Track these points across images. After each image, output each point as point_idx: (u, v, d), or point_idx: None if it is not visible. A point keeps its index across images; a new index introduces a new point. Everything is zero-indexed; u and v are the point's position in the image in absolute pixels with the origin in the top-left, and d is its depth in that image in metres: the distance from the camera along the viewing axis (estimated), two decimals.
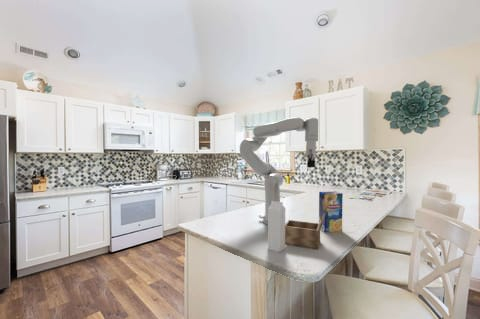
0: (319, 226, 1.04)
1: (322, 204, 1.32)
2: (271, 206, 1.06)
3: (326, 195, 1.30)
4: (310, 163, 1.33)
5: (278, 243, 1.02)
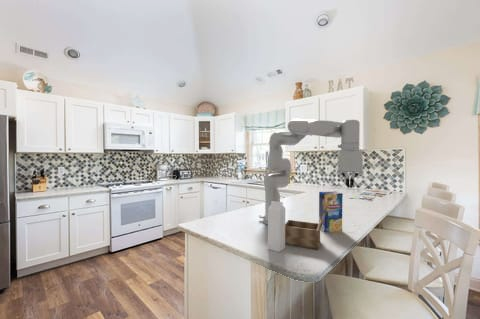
0: (319, 226, 1.04)
1: (322, 204, 1.32)
2: (271, 206, 1.06)
3: (326, 195, 1.30)
4: (353, 182, 1.04)
5: (278, 243, 1.02)
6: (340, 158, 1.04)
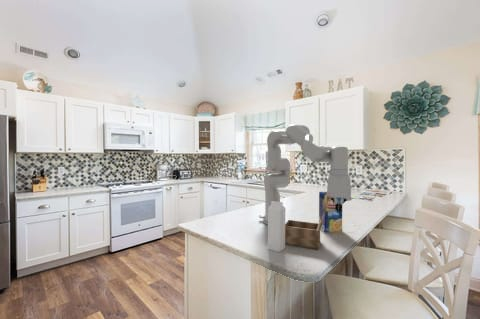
0: (319, 226, 1.04)
1: (322, 204, 1.32)
2: (271, 206, 1.06)
3: (326, 195, 1.30)
4: None
5: (278, 243, 1.02)
6: (329, 184, 1.06)
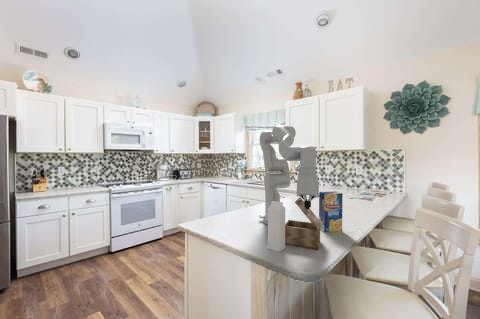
0: (315, 226, 1.05)
1: (322, 204, 1.32)
2: (271, 206, 1.06)
3: (326, 195, 1.30)
4: (310, 204, 1.12)
5: (278, 243, 1.02)
6: (298, 182, 1.11)
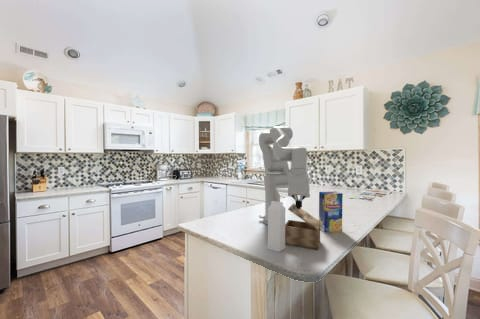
0: (314, 227, 1.05)
1: (322, 204, 1.32)
2: (271, 206, 1.06)
3: (326, 195, 1.30)
4: (301, 204, 1.14)
5: (278, 243, 1.02)
6: (289, 182, 1.13)
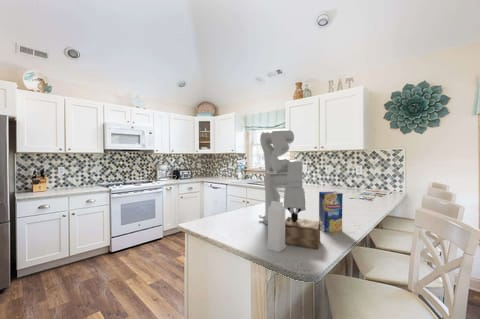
0: (313, 229, 1.05)
1: (322, 204, 1.32)
2: (271, 206, 1.06)
3: (326, 195, 1.30)
4: (297, 217, 1.14)
5: (278, 243, 1.02)
6: (285, 195, 1.14)
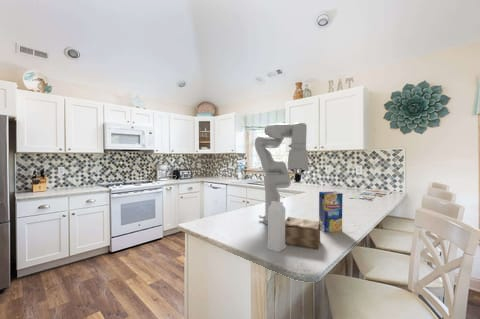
0: (313, 229, 1.05)
1: (322, 204, 1.32)
2: (271, 206, 1.06)
3: (326, 195, 1.30)
4: (300, 177, 1.19)
5: (278, 243, 1.02)
6: (289, 156, 1.19)
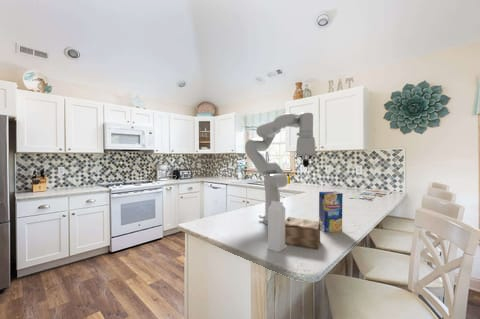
0: (313, 229, 1.05)
1: (322, 204, 1.32)
2: (271, 206, 1.06)
3: (326, 195, 1.30)
4: (308, 163, 1.29)
5: (278, 243, 1.02)
6: (298, 143, 1.29)
